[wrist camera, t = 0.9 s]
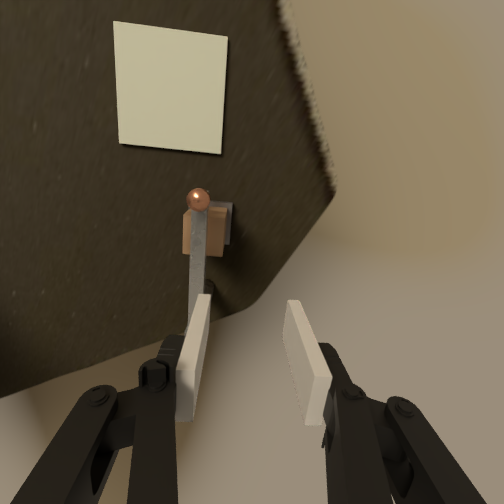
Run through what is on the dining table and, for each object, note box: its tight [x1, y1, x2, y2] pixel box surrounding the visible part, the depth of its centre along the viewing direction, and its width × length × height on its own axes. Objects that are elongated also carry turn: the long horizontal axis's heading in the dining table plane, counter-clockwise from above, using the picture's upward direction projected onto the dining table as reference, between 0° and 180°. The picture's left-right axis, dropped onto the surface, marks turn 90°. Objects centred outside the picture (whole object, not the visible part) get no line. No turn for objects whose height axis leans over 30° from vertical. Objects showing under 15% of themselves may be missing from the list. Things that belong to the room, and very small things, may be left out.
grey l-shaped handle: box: [184, 188, 214, 336], centre depth 36 cm, size 2×19×15 cm, turn 174°
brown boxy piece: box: [183, 201, 233, 257], centre depth 38 cm, size 6×6×9 cm
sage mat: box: [113, 21, 228, 154], centre depth 37 cm, size 14×14×1 cm
